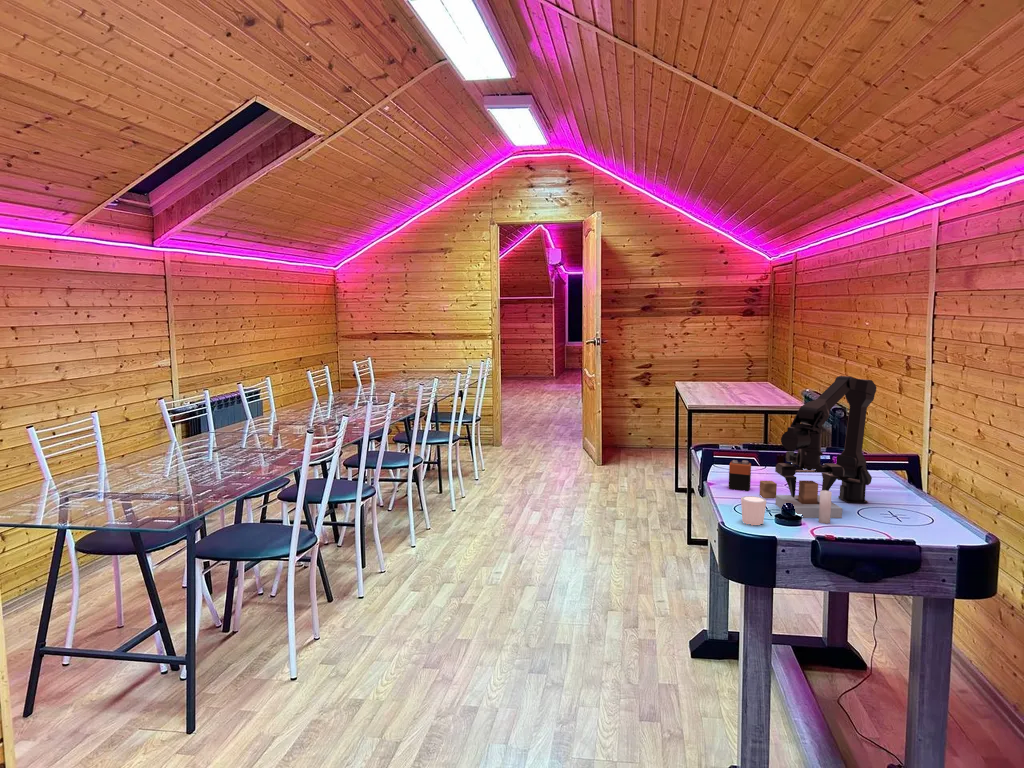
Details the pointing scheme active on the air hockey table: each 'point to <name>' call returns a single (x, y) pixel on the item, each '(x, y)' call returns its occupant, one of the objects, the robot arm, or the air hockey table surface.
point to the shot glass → (753, 510)
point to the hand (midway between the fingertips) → (808, 497)
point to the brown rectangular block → (808, 492)
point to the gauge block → (813, 506)
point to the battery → (739, 475)
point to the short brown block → (768, 489)
